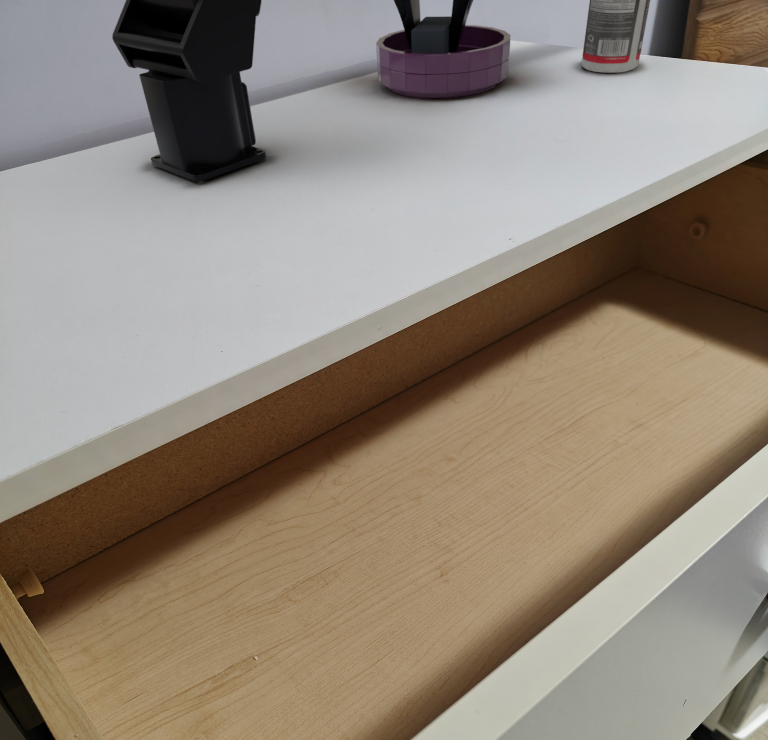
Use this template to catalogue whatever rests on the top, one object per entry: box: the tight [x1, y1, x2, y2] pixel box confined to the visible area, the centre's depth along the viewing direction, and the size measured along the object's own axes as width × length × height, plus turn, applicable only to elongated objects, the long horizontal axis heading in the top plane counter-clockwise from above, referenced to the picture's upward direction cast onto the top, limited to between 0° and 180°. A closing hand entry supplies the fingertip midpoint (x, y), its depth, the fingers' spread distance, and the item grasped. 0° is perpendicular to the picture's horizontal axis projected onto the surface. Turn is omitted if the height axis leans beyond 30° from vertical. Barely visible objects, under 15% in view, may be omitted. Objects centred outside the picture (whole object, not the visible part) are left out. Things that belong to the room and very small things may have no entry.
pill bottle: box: [581, 0, 651, 74], centre depth 62 cm, size 5×5×10 cm
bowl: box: [375, 24, 511, 99], centre depth 63 cm, size 12×12×4 cm
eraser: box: [411, 16, 451, 54], centre depth 63 cm, size 6×3×4 cm, turn 166°
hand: (434, 61), depth 64 cm, fingers closed on eraser, 3 cm apart
